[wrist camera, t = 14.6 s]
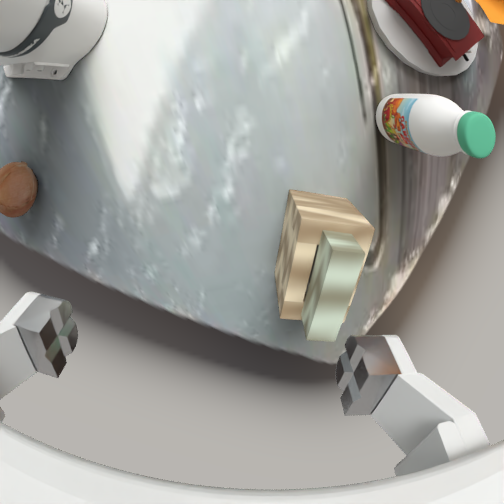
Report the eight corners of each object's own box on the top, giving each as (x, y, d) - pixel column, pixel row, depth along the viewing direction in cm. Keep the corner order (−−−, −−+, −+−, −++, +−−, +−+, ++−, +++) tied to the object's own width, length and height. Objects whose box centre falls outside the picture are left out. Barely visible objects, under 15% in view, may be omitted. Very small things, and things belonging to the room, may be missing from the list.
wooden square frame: (326, 277, 51) (343, 322, 40) (274, 272, 50) (280, 318, 39) (346, 198, 44) (374, 229, 34) (289, 189, 44) (301, 218, 33)
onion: (26, 185, 45) (-16, 204, 38) (28, 145, 40) (-19, 162, 32) (46, 215, 45) (2, 238, 37) (49, 173, 39) (-3, 195, 31)
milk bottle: (391, 83, 36) (476, 80, 18) (425, 116, 38) (514, 136, 20) (364, 121, 39) (440, 137, 21) (400, 153, 41) (482, 190, 23)
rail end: (321, 298, 43) (334, 341, 35) (297, 296, 43) (306, 340, 35) (342, 221, 38) (365, 253, 29) (315, 217, 37) (332, 249, 29)
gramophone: (415, -47, 24) (499, -98, 1) (487, 44, 30) (592, 45, 8) (339, -3, 30) (417, -81, 8) (426, 99, 37) (549, 117, 14)
